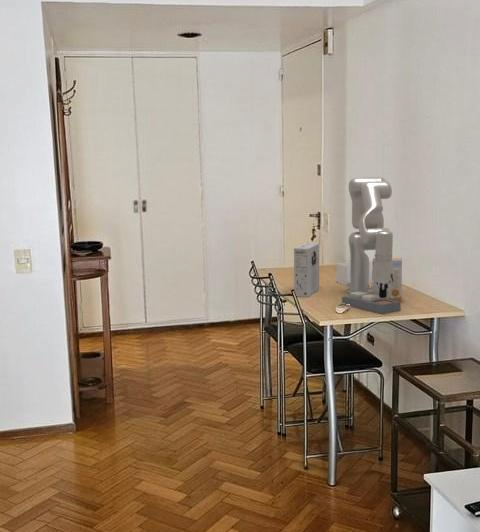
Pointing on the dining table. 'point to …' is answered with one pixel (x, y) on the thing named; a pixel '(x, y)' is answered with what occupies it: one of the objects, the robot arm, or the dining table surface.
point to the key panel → (372, 304)
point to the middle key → (370, 297)
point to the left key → (358, 294)
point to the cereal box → (306, 269)
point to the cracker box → (396, 289)
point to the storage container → (344, 272)
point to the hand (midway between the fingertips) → (382, 297)
